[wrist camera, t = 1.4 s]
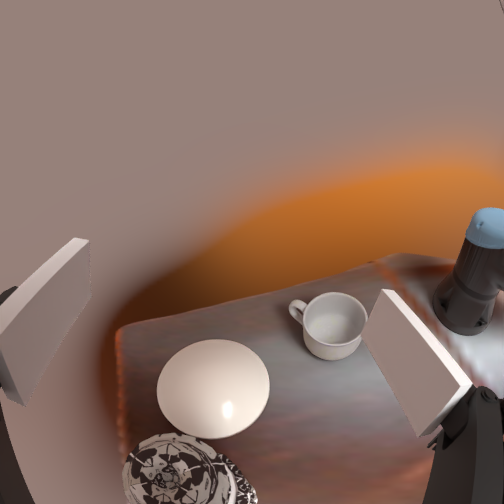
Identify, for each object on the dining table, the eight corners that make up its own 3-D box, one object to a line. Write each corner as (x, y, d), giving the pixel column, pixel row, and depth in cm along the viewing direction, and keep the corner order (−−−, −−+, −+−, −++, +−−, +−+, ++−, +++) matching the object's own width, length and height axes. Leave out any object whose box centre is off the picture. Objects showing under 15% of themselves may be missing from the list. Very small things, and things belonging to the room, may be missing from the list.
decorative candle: (210, 535, 25) (127, 546, 10) (186, 483, 32) (95, 437, 17) (271, 514, 28) (257, 515, 12) (243, 464, 34) (203, 405, 19)
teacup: (370, 338, 50) (379, 310, 45) (336, 380, 44) (343, 355, 39) (312, 304, 58) (314, 275, 53) (275, 338, 53) (273, 310, 48)
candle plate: (293, 383, 45) (293, 380, 44) (208, 462, 35) (206, 460, 34) (216, 326, 56) (215, 322, 55) (139, 385, 46) (137, 382, 45)
